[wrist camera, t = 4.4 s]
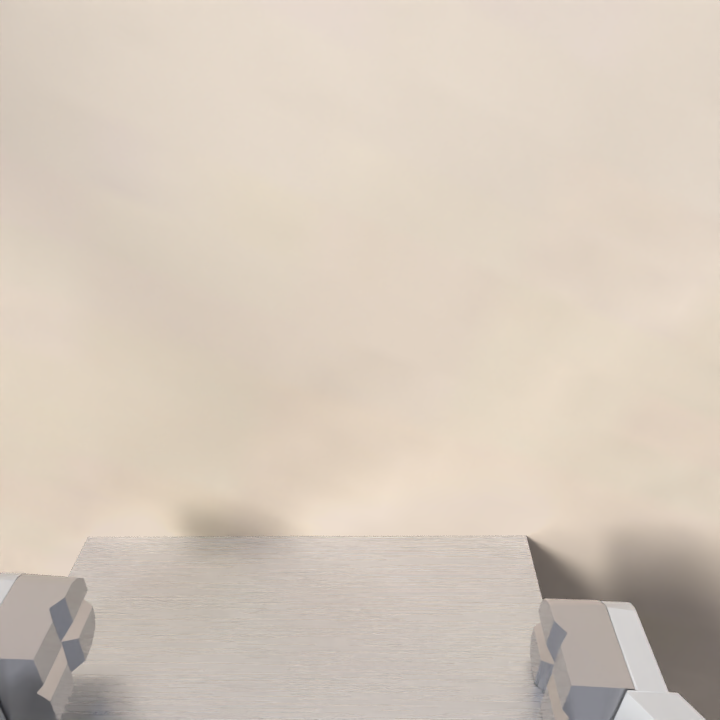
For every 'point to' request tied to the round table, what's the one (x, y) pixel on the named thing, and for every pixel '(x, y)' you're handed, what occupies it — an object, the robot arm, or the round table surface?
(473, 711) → the brushed aluminum block
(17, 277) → the round table surface
